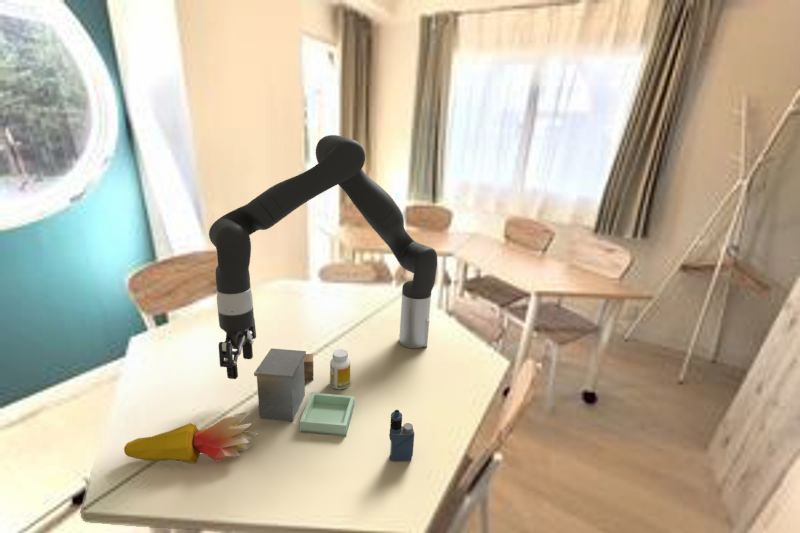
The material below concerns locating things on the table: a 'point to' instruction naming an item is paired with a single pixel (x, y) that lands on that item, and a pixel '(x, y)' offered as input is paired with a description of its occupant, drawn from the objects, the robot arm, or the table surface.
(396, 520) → the table surface
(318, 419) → the tray
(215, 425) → the torch
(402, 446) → the vaping device
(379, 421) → the table surface
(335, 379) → the supplement bottle
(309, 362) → the walnut block
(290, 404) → the box
